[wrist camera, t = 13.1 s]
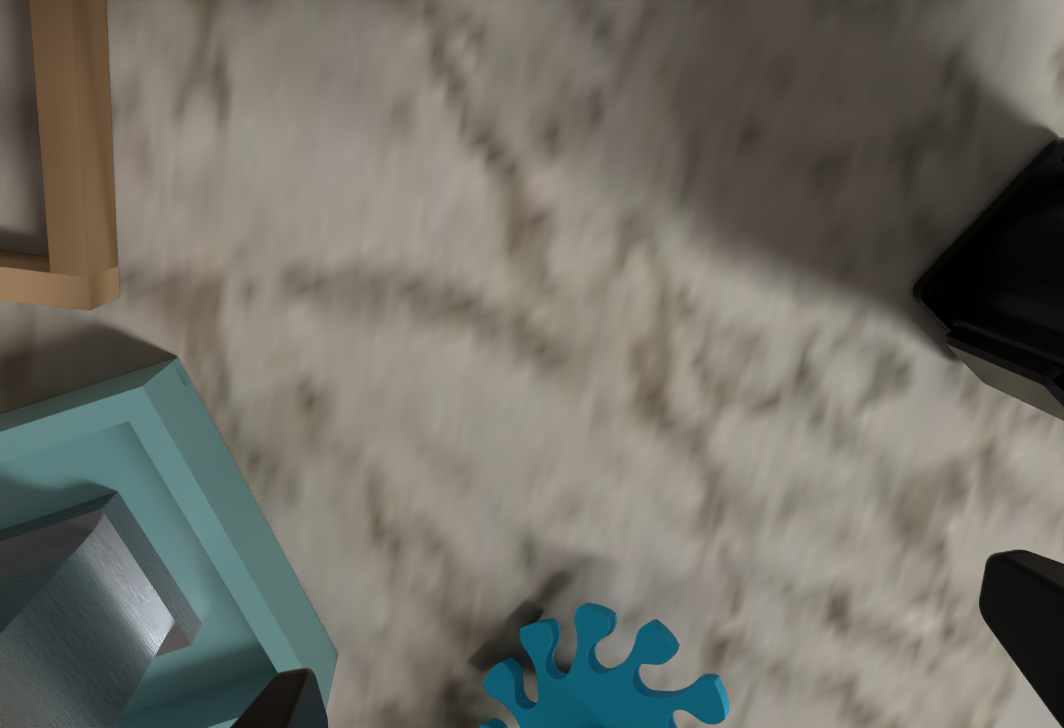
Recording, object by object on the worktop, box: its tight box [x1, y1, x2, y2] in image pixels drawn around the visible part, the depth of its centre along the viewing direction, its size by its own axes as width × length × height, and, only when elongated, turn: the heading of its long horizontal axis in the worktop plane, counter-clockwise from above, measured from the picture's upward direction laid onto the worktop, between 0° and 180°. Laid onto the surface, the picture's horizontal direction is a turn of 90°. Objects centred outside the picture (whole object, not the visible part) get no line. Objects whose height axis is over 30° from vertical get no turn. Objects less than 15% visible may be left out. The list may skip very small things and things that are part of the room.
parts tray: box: [0, 357, 338, 728], centre depth 20 cm, size 12×12×2 cm
